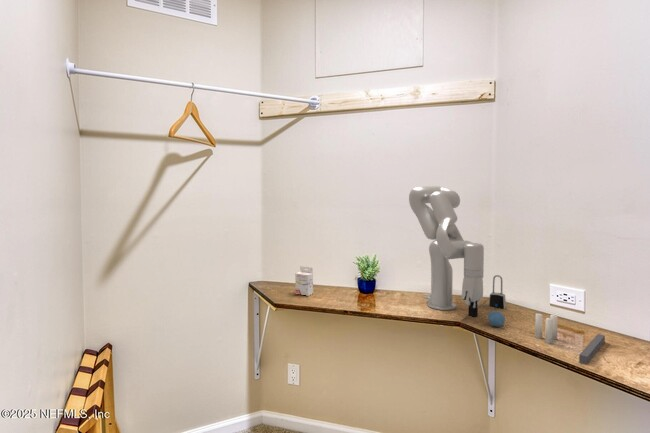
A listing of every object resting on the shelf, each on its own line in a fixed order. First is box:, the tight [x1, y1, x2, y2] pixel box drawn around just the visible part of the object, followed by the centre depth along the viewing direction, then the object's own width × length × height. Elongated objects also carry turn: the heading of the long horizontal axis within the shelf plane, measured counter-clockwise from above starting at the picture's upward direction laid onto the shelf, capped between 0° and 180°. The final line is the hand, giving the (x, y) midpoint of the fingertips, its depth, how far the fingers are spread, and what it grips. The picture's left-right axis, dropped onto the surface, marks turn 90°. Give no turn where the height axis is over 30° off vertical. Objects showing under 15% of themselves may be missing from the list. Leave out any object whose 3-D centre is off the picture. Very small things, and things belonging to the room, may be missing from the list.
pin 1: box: [544, 317, 554, 345], centre depth 122 cm, size 2×2×8 cm
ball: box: [487, 310, 506, 328], centre depth 138 cm, size 6×6×6 cm
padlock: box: [488, 274, 507, 310], centre depth 162 cm, size 7×4×15 cm, turn 53°
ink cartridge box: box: [294, 266, 314, 295], centre depth 186 cm, size 9×5×15 cm, turn 58°
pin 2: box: [549, 314, 559, 341], centre depth 126 cm, size 2×2×8 cm
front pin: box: [534, 313, 544, 340], centre depth 127 cm, size 2×2×8 cm
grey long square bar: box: [578, 333, 606, 365], centre depth 115 cm, size 2×24×2 cm, turn 131°
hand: (472, 316), depth 146 cm, fingers closed
